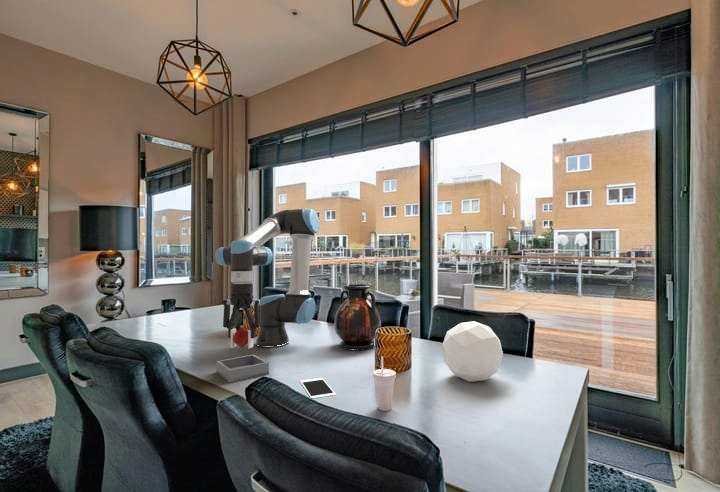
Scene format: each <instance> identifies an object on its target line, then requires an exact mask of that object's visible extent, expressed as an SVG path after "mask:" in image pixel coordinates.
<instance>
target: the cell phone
mask: <svg viewBox="0 0 720 492" xmlns="http://www.w3.org/2000/svg"><path fill="white" fill-rule="evenodd" d="M299 382H300V384H301V386H303V389H304V390H305V392H306V393H307V395H308V396H310V397H309V399H311V398H312V400H314V399H320V398H326V397H333V396H336V395H337V394H336V392H335V391H334V390H333V388H332V387H331V386H330V384H328V383H327V381H326V380H325V379H324V378H323V377H319V378H318V377H317V378H316V377H315V378H309V379H303V380H302V379H301V380H299Z"/></svg>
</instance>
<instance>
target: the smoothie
mask: <svg viewBox="0 0 720 492" xmlns="http://www.w3.org/2000/svg"><path fill="white" fill-rule="evenodd" d="M380 357H381V359H380V360H381V361H380V365H381V366H380V368H381V369H380V368H379V369H375V370H374V371H372V378H374V385H375V386H374V387H375V395H376V402H377V408H378V410H380V411H385V412H386V411H390V410H392V408H393V407H392V406H393V398H394V387H395V379H396V377H397V373H396V371H395V370H393V369H389V368H384V356H380Z"/></svg>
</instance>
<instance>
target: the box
mask: <svg viewBox="0 0 720 492" xmlns="http://www.w3.org/2000/svg"><path fill="white" fill-rule="evenodd" d="M215 371H216V373H217V374H218V375H219V376H221V378H223V379H224V380H225V381H226V382H228V383H229V384H230V383H235V382H239V381H243V380H247V379H248V380H249V379H252V378H256V376H257V377H262V376H266V375H270V363H269V362H268V361H267V360H265V359H263V358H262V357H259V356H258V355H256V354H249V355H242V356H236V357H233V358H227V359H226V358H225V359H222V360H221V359H220V360H216V370H215ZM261 375H262V376H261Z"/></svg>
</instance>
